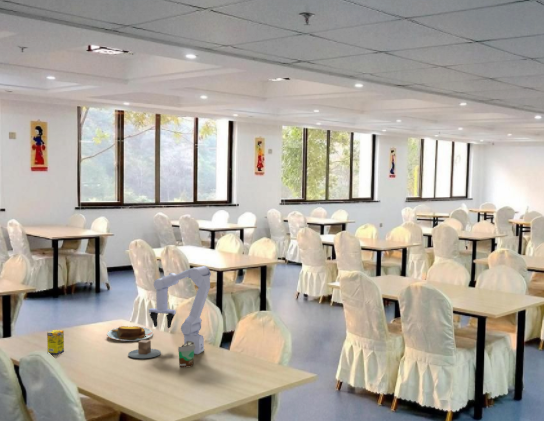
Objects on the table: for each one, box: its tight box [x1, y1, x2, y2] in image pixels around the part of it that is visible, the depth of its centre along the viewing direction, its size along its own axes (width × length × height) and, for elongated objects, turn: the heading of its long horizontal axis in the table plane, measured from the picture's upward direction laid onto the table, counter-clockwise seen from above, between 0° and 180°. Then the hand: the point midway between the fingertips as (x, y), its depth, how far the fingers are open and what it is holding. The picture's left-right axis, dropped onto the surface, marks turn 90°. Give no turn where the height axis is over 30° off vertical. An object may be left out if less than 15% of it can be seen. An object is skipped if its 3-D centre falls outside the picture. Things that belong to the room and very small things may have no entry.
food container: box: [177, 341, 196, 368], centre depth 317 cm, size 12×6×10 cm, turn 168°
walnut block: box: [137, 339, 152, 355], centre depth 334 cm, size 4×4×6 cm
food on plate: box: [106, 325, 154, 342], centre depth 369 cm, size 25×25×7 cm
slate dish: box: [127, 348, 162, 359], centre depth 334 cm, size 16×16×1 cm
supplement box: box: [46, 329, 65, 356], centre depth 338 cm, size 6×6×11 cm
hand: (162, 327), depth 348 cm, fingers open, 7 cm apart
